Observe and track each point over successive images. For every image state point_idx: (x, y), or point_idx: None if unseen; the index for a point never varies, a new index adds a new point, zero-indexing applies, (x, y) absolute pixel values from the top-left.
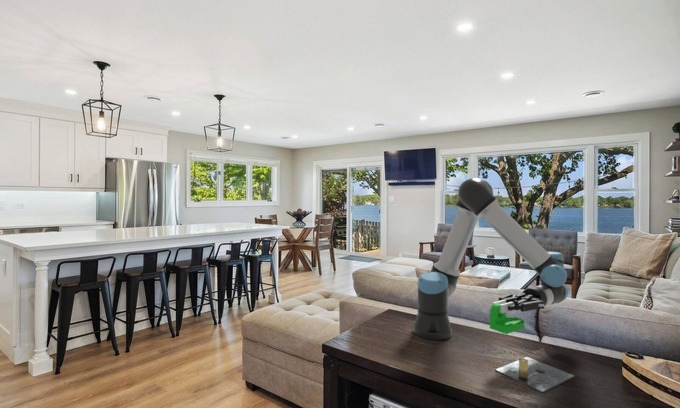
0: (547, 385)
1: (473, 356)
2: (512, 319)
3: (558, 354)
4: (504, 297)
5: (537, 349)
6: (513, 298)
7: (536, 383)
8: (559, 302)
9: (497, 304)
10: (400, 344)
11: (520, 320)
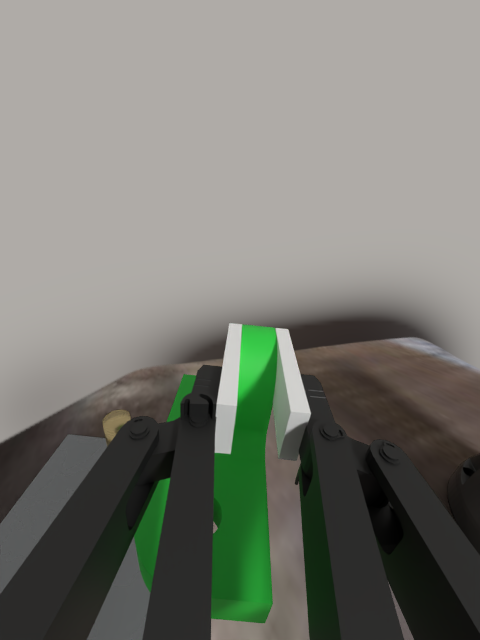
0: (50, 473)
1: None
2: (221, 514)
3: None
4: (407, 517)
5: None
6: (333, 586)
7: (84, 460)
8: None
9: (255, 327)
10: (413, 400)
11: None
